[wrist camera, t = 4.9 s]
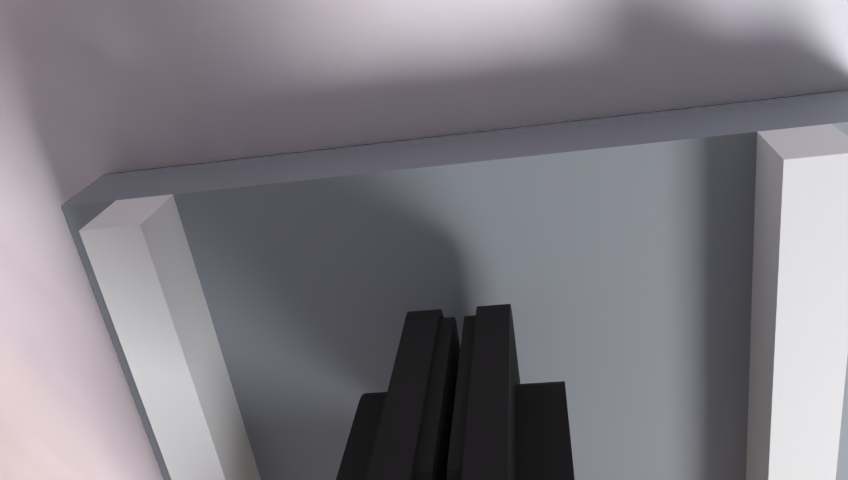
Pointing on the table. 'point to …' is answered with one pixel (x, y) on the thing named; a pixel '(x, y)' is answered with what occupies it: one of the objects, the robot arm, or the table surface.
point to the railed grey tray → (497, 288)
